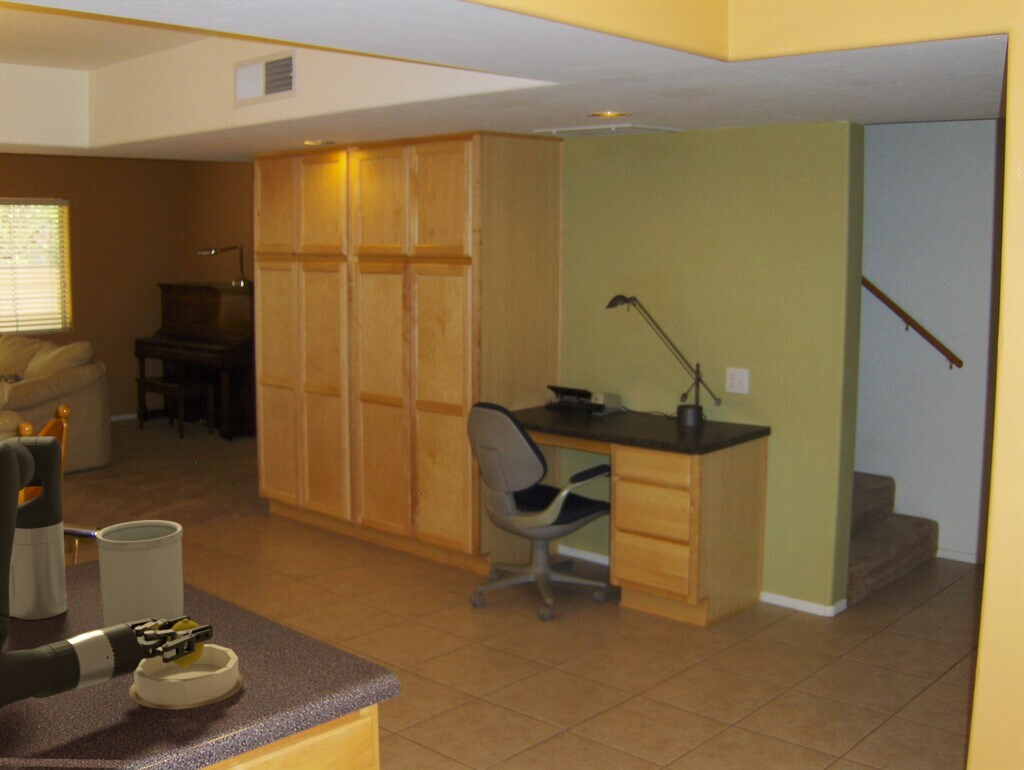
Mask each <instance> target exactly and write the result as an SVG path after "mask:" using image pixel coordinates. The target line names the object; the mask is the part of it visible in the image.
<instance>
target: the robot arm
mask: <svg viewBox="0 0 1024 770" xmlns="http://www.w3.org/2000/svg"><path fill="white" fill-rule="evenodd" d="M33 487H34V488H36V487H40V488H42V490H41V491H42V492H41V493H40V494H38V495H37V496H36V497H34V498H32V499H30V500H27V501H24V502H21V503H19V499H20V498H19V495H20V491H22V490H23V489H25V488H33ZM63 511H64V510H63V451H62V444H61V442H60V440H59V439H58V438H57V437H56V436H53V435H52V436H51V435H50V436H48V435H47V436H46V435H45V436H42V435H41V436H40V435H39V436H15V437H9V438H6V439H2V440H1V439H0V710H1V709H2V708H3V707H5V706H8V705H11V704H13V703H17V702H19V701H22V700H23V701H24V700H27V699H30V698H34V699H44V698H46V699H47V698H49V697H53V696H57V695H60V694H63V693H66V692H70V691H72V690H76V689H82V688H87V687H90V686H91V687H92V686H95V685H97V684H100V683H101V684H102V683H104V682H108V681H111V680H114V679H116V678H120V677H123V676H127V675H130V674H132V673H133V674H134V671H135V670H136V669H137V667H138V665H139V663H140V662H141V660H142V659H152V658H156V657H157V656H161V657H162V662H163V663H169V662H171V661H174V660H176V659H178V658H181V657H183V656H185V655H188V654H190V653H192V652H195V644H196V643H199V642H202V641H204V642H205V641H208V640H212V639H213V635H214V634H213V632H214V631H213V625H211V624H205V625H199V626H200V627H197V628H193V629H190V630H185V631H178V632H176V631H175V630H174V629H171V628H172V627H173V626H174V625H175V624H176V623H178V622H180V621H182V620H183V619H188V620H190V621H192V620H191V619H192V618H191V616H190V615H187V614H186V615H183V616H181V617H177V618H174V619H170V620H165V619H161V620H159V621H157V618H154V617H152V618H148V619H143V620H138V621H133V622H127V623H118V624H114V625H111V626H107V627H105V626H104V627H100V628H97V629H94V630H93V629H91V630H89V631H85V632H81V633H79V634H75V635H72V636H71V637H69V638H66V639H62V640H59V641H56V642H52V643H48V644H44V645H41V646H38V647H36V648H31V649H20V650H12V651H5V652H3V647H4V645H5V643H6V641H7V640H8V637H9V633H10V624H11V623H10V621H11V620H10V619H11V618H10V617H14V618H16V619H18V620H19V619H20V620H28V621H29V620H32V621H33V620H41V619H42V620H43V619H48V618H52V617H56V616H59V615H61V614H63V613H65V612H66V611H67V608H68V606H67V605H68V603H67V601H68V600H67V598H68V597H67V581H66V580H67V579H66V562H65V561H66V559H65V558H66V556H65V539H64V538H65V537H64V536H65V535H64V517H63V516H64V514H63ZM168 636H170V642H167V638H168ZM183 636H184V637H183ZM178 637H181V638H179V639H177V638H178Z"/></svg>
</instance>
